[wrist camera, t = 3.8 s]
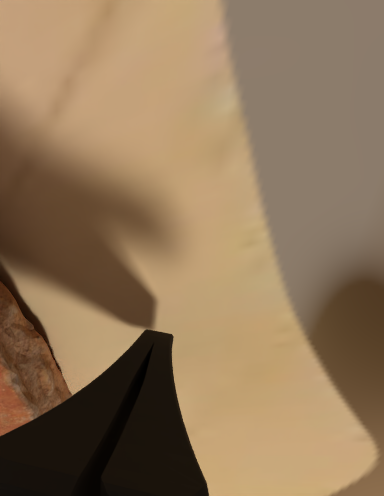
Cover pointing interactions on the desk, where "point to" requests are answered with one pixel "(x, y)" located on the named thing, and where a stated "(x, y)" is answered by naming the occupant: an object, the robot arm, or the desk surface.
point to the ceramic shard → (25, 369)
